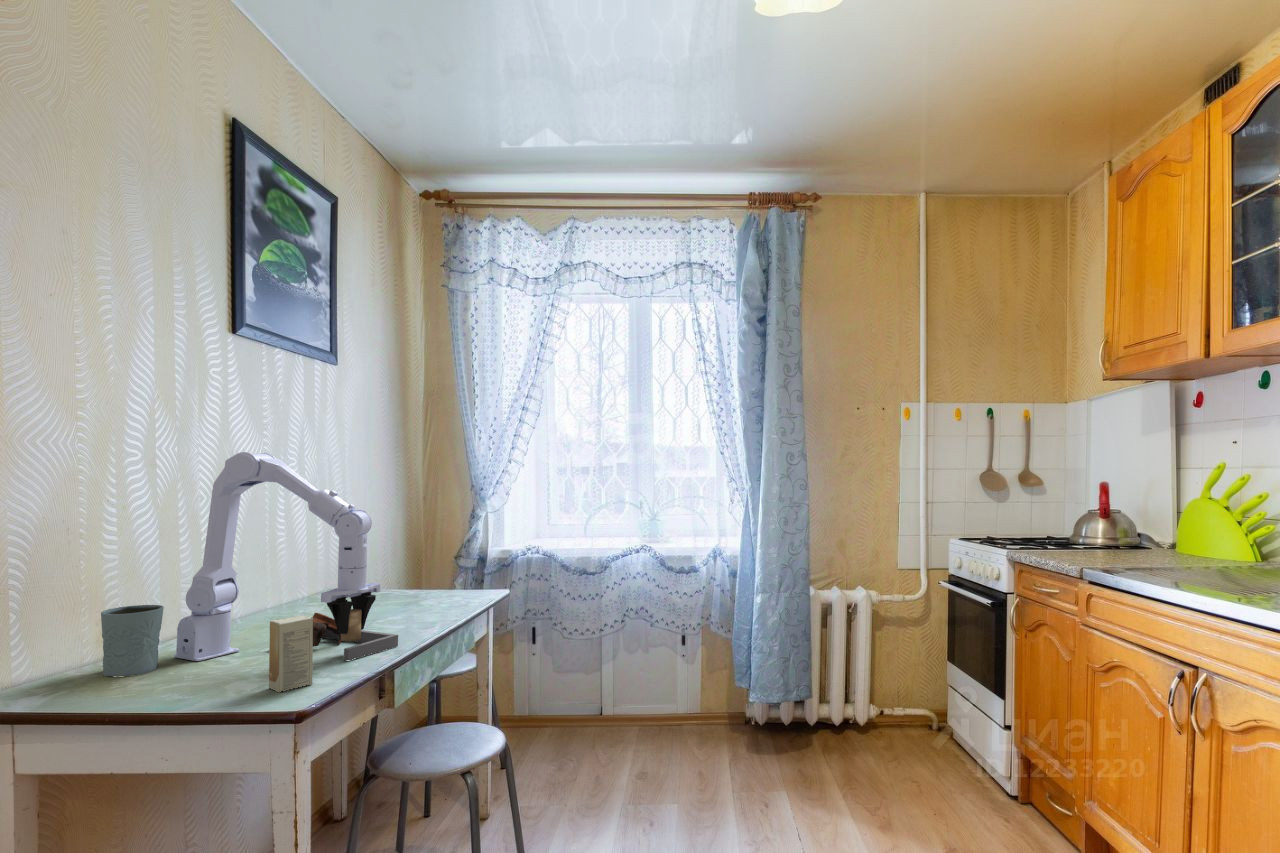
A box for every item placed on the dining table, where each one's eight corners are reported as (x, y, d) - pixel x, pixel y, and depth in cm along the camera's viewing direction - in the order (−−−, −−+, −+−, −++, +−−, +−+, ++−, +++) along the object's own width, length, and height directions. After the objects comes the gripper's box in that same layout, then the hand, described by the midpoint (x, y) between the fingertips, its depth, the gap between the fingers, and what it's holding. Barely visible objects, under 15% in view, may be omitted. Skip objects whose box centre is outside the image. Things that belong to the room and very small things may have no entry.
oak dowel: (350, 642, 150) (351, 613, 151) (336, 640, 152) (337, 611, 152) (365, 638, 154) (365, 609, 154) (351, 636, 155) (351, 608, 156)
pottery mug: (291, 645, 162) (311, 611, 166) (331, 662, 164) (350, 627, 168) (286, 643, 152) (308, 606, 155) (329, 660, 153) (349, 624, 157)
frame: (348, 661, 147) (348, 649, 147) (272, 649, 156) (272, 638, 156) (397, 646, 160) (398, 634, 160) (325, 636, 169) (325, 625, 169)
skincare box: (301, 680, 134) (304, 614, 134) (313, 685, 131) (315, 617, 132) (266, 688, 129) (268, 619, 129) (277, 693, 126) (279, 623, 127)
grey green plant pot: (111, 681, 133) (114, 616, 133) (88, 672, 138) (91, 610, 139) (170, 668, 141) (173, 607, 142) (147, 661, 147) (149, 602, 147)
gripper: (339, 572, 145) (337, 640, 145) (391, 564, 159) (389, 626, 158) (314, 570, 148) (312, 636, 148) (367, 562, 162) (366, 623, 161)
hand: (350, 631), depth 153 cm, fingers closed on oak dowel, 4 cm apart
